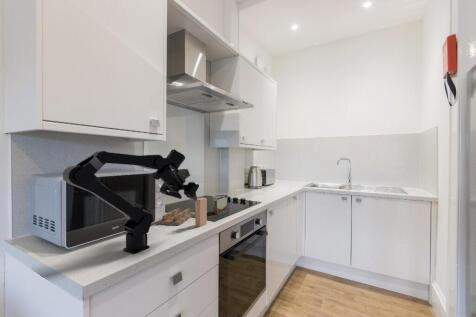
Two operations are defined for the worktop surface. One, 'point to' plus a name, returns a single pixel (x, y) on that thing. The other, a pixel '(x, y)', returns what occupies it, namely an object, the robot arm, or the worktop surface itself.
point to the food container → (220, 203)
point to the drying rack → (176, 217)
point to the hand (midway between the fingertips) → (188, 198)
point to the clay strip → (201, 212)
